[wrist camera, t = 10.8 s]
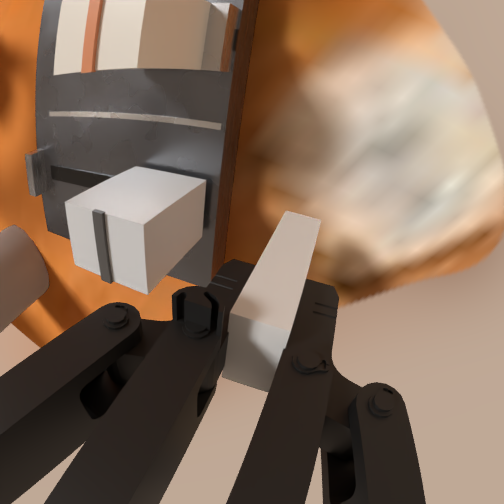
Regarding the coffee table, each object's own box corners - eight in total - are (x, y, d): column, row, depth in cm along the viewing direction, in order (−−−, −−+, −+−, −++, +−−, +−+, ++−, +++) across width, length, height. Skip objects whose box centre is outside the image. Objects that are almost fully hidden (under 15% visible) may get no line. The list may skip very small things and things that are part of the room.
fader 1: (133, 69, 12) (50, 77, 8) (141, 11, 10) (59, -2, 6) (209, 71, 11) (133, 69, 7) (219, 5, 10) (147, -27, 6)
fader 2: (137, 219, 16) (73, 267, 12) (136, 165, 15) (62, 202, 10) (202, 237, 16) (145, 298, 11) (206, 179, 14) (141, 225, 10)
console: (65, 219, 22) (37, 237, 19) (67, -7, 12) (32, -10, 10) (223, 271, 19) (201, 302, 17) (266, -40, 10) (245, -65, 7)
